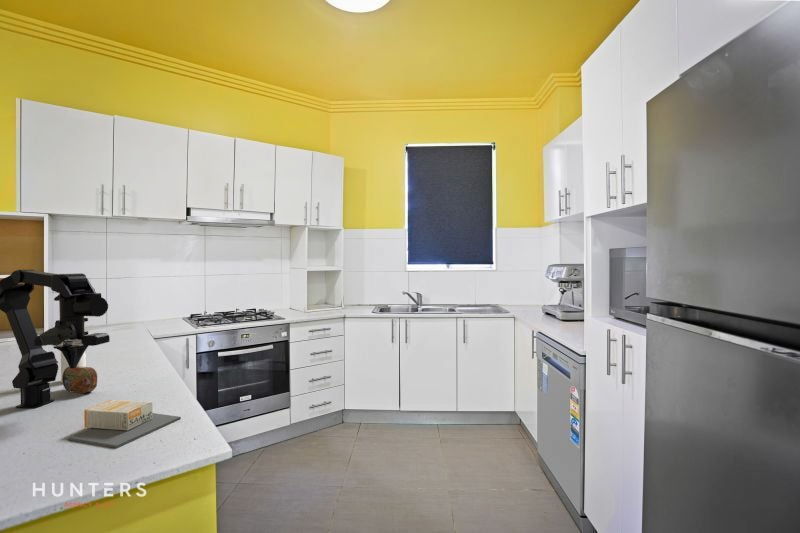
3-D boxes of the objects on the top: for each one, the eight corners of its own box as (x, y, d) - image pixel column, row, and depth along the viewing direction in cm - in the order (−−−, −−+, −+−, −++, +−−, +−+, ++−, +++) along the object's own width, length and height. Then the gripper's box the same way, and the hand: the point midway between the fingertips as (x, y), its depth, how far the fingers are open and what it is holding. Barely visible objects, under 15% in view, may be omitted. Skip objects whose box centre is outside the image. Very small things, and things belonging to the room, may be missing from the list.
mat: (68, 439, 98) (68, 437, 98) (136, 413, 115) (136, 410, 115) (116, 448, 93) (116, 445, 93) (180, 418, 110) (180, 416, 110)
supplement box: (83, 428, 103) (127, 431, 101) (83, 409, 103) (127, 412, 101) (112, 416, 111) (153, 419, 109) (111, 399, 111) (153, 401, 109)
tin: (61, 390, 137) (61, 365, 137) (71, 387, 140) (71, 363, 140) (89, 395, 132) (88, 369, 131) (99, 392, 134) (99, 367, 134)
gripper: (14, 319, 111) (16, 375, 112) (79, 319, 111) (80, 376, 111) (51, 314, 123) (52, 365, 123) (110, 314, 122) (111, 365, 122)
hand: (73, 368), depth 119 cm, fingers closed
